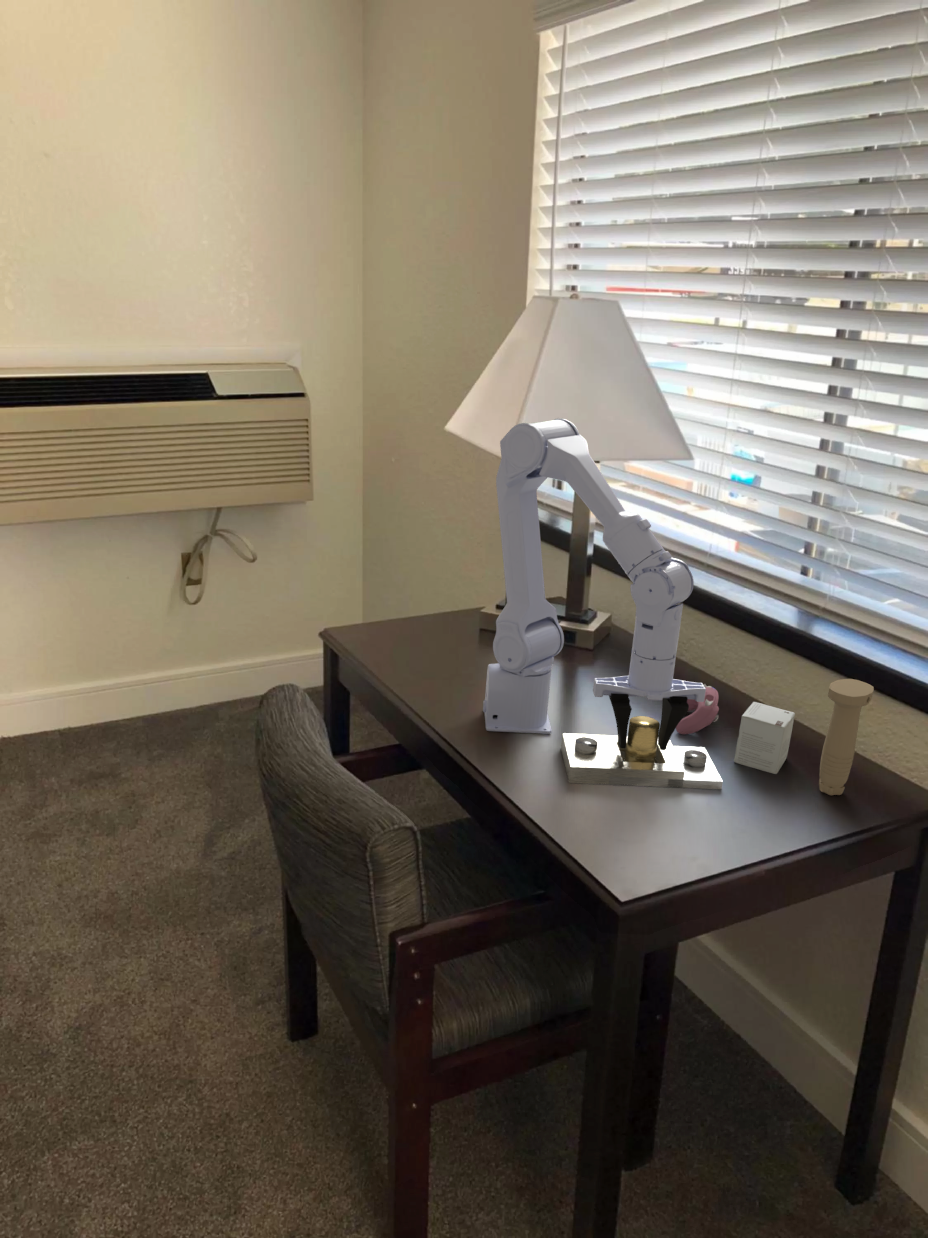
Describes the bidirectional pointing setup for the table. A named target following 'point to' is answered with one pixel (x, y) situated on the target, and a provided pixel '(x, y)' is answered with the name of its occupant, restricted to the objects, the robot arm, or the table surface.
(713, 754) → the table surface
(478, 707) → the table surface
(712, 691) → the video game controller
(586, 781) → the plate
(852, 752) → the handle
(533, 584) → the robot arm
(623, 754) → the right chain end
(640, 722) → the brass pin
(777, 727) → the skincare box
